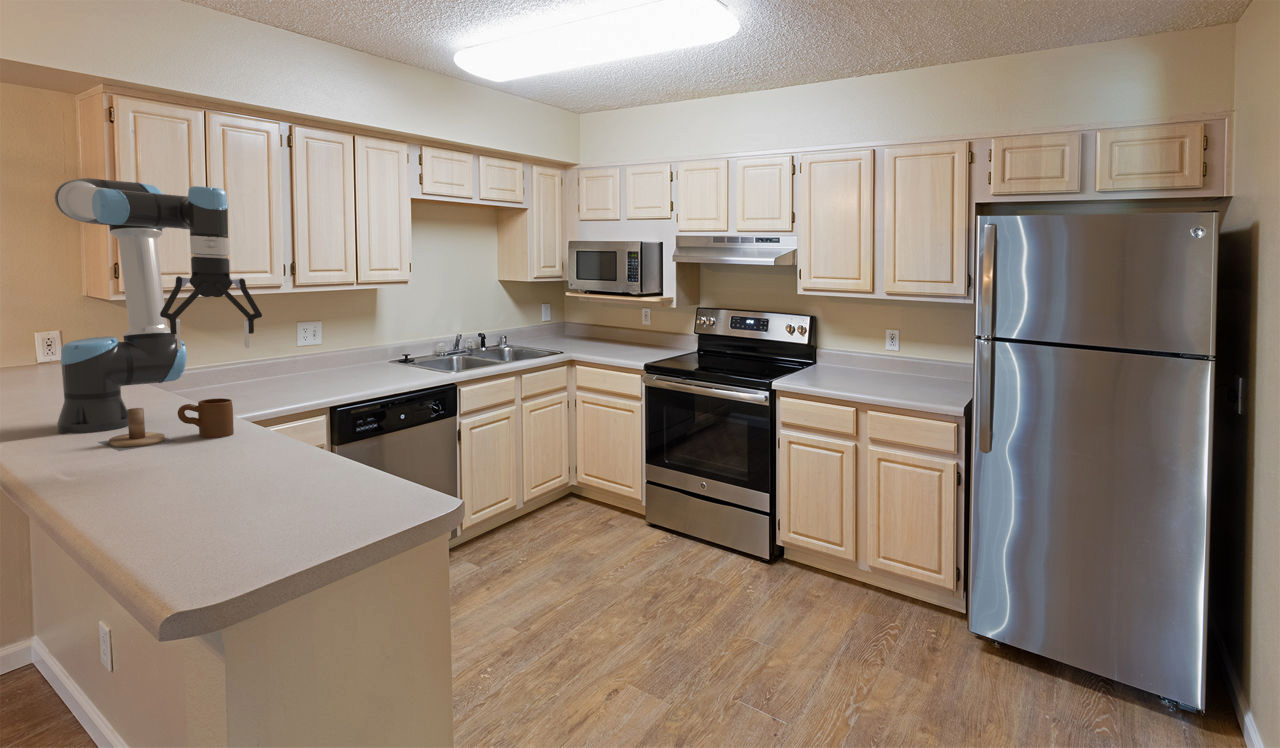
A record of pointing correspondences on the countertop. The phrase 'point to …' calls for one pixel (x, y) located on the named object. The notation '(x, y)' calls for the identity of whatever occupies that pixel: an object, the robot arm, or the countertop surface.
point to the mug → (210, 417)
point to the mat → (134, 447)
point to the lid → (136, 432)
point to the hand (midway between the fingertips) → (213, 348)
